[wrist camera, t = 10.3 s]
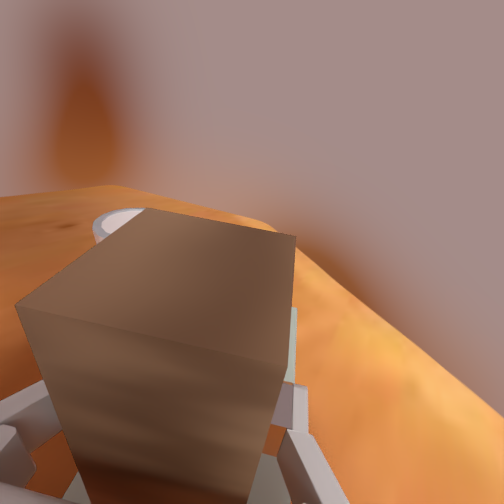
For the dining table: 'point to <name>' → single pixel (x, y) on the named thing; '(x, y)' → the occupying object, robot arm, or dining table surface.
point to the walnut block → (167, 356)
